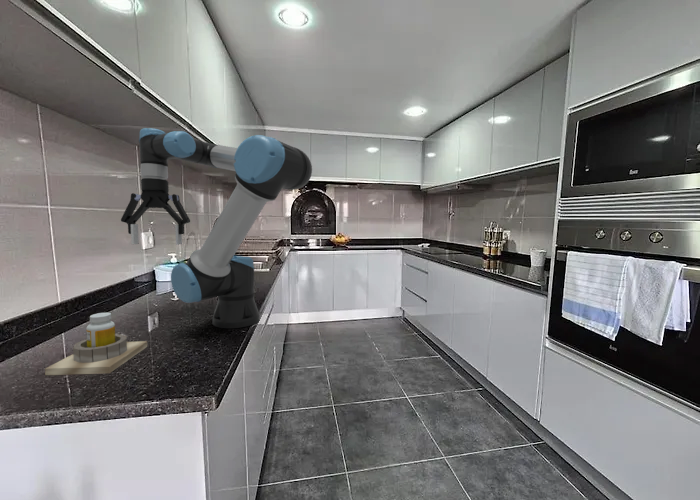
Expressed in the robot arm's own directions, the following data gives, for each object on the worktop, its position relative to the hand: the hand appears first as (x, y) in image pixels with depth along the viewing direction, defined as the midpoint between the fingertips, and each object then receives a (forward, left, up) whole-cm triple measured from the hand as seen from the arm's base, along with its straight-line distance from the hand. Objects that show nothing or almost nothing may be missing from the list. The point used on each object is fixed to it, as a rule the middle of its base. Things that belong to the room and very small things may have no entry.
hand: (157, 244), depth 100 cm
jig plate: (-1, +28, -27) cm, 39 cm away
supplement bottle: (-1, +28, -25) cm, 38 cm away
